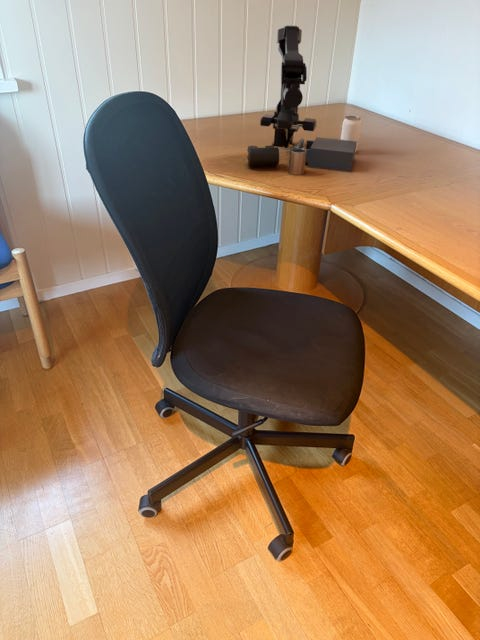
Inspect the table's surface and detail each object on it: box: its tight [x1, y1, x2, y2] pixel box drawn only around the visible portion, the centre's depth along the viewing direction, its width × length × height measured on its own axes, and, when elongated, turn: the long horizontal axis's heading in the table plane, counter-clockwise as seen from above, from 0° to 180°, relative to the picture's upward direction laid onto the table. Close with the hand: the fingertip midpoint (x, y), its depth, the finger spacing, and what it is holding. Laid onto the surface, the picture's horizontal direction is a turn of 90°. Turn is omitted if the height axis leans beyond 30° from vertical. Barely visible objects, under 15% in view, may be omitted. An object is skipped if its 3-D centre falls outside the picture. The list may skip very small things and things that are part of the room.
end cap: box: [246, 145, 280, 169], centre depth 165 cm, size 10×7×7 cm
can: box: [340, 115, 362, 153], centre depth 181 cm, size 6×6×12 cm
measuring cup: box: [280, 147, 307, 176], centre depth 162 cm, size 8×5×7 cm, turn 74°
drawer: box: [284, 138, 315, 163], centre depth 172 cm, size 17×13×5 cm
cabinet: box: [307, 136, 357, 173], centre depth 171 cm, size 14×14×6 cm
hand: (286, 147), depth 174 cm, fingers closed
